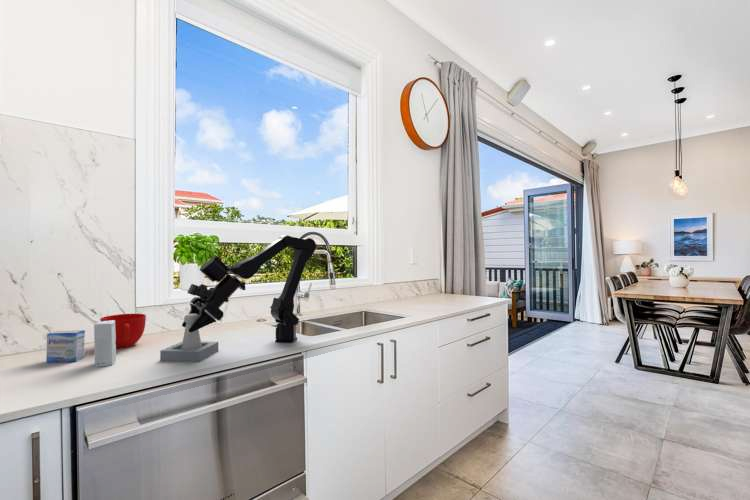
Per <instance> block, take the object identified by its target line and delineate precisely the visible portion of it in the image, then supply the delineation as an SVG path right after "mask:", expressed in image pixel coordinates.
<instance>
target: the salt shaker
mask: <svg viewBox="0 0 750 500" xmlns="http://www.w3.org/2000/svg"><path fill="white" fill-rule="evenodd" d="M198 316H199V315H198V314H189V313H188V314H185V315H184V317H183V319H184V321H185V322H186V327H184V332H183V333H184V334H183V338H182V341H183V343H182V348H181V349H185V350H197V349H199V348H201V347H202V344H201V341H202V340H201V336H200V335H201V334H200V329H198V330H196V331H194V332H189V331H188V330H189V328H190V327H191V326H192V324H193V323H194V322H195V320H196V319H197V318H198ZM184 321H183V322H184Z"/></svg>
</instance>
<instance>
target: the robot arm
mask: <svg viewBox="0 0 750 500" xmlns="http://www.w3.org/2000/svg"><path fill="white" fill-rule="evenodd" d="M286 248H289V249H293V261H292V264H291V266H290V270H289V271H288V275H287V278H286V281H285V283H284V286H283V289H282V290H281V291H282V292H281V294H280V295H279V296H278V297H273V300H272V304H271V306H270V307H269V308H270V314H271V317H272V318H273V319H274V320H275V323H276V327H275V340H274V341H275V343H294V342H295V341H296V340H297V339H298V336H297V325H298V324H299V322H300V319H299V317H298V316H296V314H294V310H295V301H294V298H295V296H296V293H297V290H298V287H299V284H300V282H301V279H302V276H303V273H304V270H305V267H306V264H307V262H308V261H309V260H310V259H311V258H312V256H313V255H314V253H315V251H316V249H317V243H316V242H315V240H314V239H313V238H310V237H304V238H302V237H301V238H299V237H296V236H295V237H294V236H290V235H287V234H286V235H280V236H279V238H278V239H276V240H274V241H273V242H271V243H270V244H269V245H267V246H266V247H264V248H263V249H261V250H260V251H258V252H257V253H255V254H254V255H252V256H250V257H246V258H245V259H242V260H239V261H237V262H235V264H233V265H226V264H225V262H223V261H222V259H221V258H220V257H219V256H217V255H215V256H213V257H212V258H210V259H209V260H208V261H205V262H204V263H203V264H202V265H201V266H200V268H199V271H200V272H201V273H202V274H203V275H204V276H205V277H206V278H208V280H210V281H211V283H214V282H217V284H216V285H215V286H214V287H213V286H212V287H210V288H209V289H208V285H205V284H203V283H201V284H199V285H196V284H193V283H191V284H190V286H189V288H188V290H187V292H186V293H187V294H189V295H192V296H195V297H193V298H192V299H191V300H190V303H189V305H190V307H189V308H190V309H189V311H188V314H198V315H199V316H198V318H197V319H196V320H195V322H194V323H193V324H192V326H191V327H190V328H189V330H188V331H189V332H194V331H196V330H200V329H203V328H204V327H207V326H209V325H210V324H213V323H216V322H217V321H219V322H220V321H221V320H222V318H224V311H223V310H221V306H223V304H225V303H228V302H229V301H230V298H231V296H232V295H234V293H235V292H236V291H237V290H238V289H239V290H242V291H245V290H246V281H241V280H240V279H244V280H249V279H251V278H253V276H254V275H256V273H257V272H258V271H260V269H261V267H262V266H263V265H264V264H265V263H267V262H269V260H271V259H272V258H274V257H276V256H277V255H278V254H279V253H280V252H282V251H283V250H285V249H286ZM231 274H233V275H234V276H231ZM238 278H239V279H238ZM181 327H183V328H185V327H186V322H185V321H183V322H182V324H181Z"/></svg>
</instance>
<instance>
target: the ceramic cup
mask: <svg viewBox="0 0 750 500" xmlns="http://www.w3.org/2000/svg"><path fill="white" fill-rule="evenodd" d="M146 319H147V315H146V314H143V313H119V314H112V315H111V314H110V315H107V316H103V317H101V318H100V321H110V320H115V331H116V349H125V348H130V347H134V346H135V345H136V344H137V343H138V341H140V340H141V338H142V336H143V335H144V332H145V328H146Z"/></svg>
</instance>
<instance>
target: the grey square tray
mask: <svg viewBox="0 0 750 500" xmlns="http://www.w3.org/2000/svg"><path fill="white" fill-rule="evenodd" d="M182 343H183V340H182V341H179V342H178V343H175V344H173V345H171V346H168V347H166V348H163V349H161V350H160V351H159V353H160V355H159V358H160V360H159V361H160V362H187V361H188V363H189V362H190V363H194V362H196V363H199V362H201V361H203V360H205V359H206V358H208V357H210V356H212V355H213V354H215V353H217V352H219V341H202V340H201V344H202V347H201V348H199V349H197V350H185V349H181V348H182Z"/></svg>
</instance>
